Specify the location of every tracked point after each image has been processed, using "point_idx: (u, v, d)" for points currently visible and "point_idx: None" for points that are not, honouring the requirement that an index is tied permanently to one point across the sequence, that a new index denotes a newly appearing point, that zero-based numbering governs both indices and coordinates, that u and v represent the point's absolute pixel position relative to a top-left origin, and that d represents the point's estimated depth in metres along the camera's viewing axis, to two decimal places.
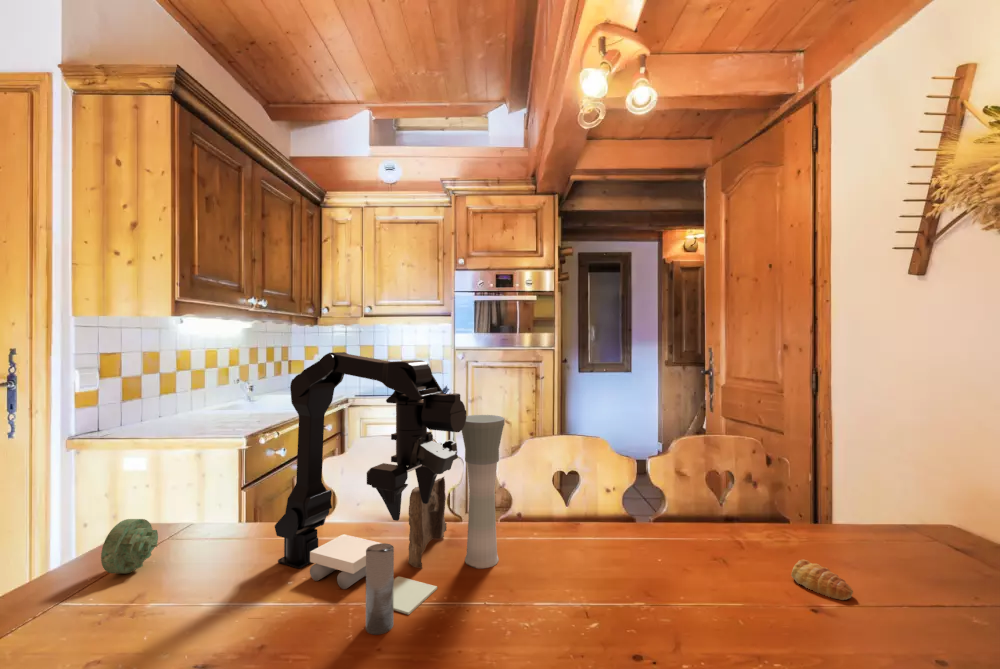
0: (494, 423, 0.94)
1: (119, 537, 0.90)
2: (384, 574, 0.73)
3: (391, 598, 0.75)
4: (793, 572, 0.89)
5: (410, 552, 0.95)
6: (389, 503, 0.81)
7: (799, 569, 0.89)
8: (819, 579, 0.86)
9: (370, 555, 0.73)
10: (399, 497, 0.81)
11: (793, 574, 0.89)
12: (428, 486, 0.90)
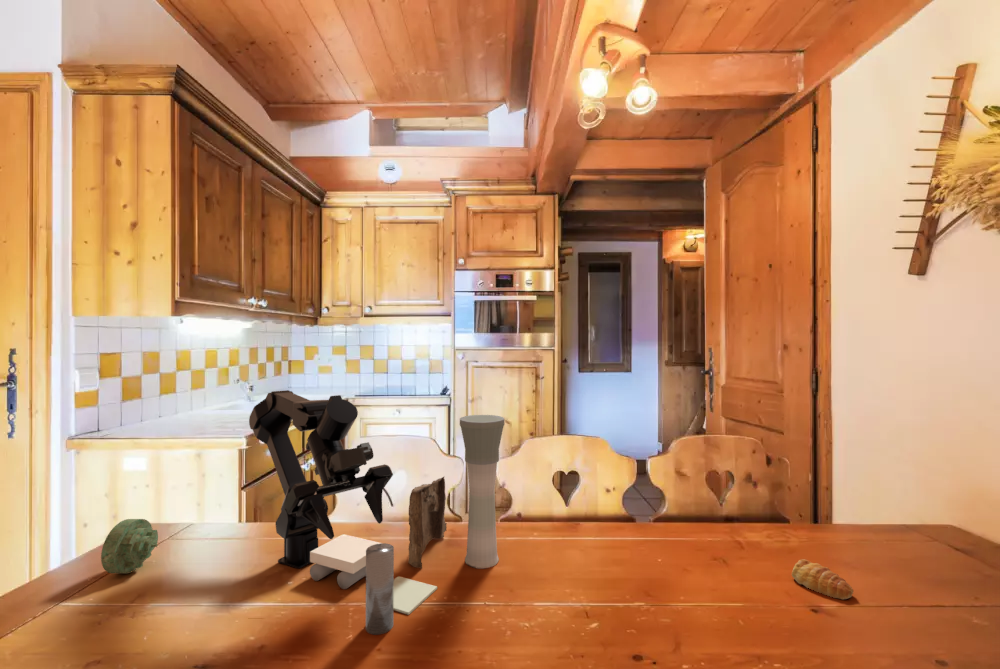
0: (494, 423, 0.94)
1: (119, 537, 0.90)
2: (384, 574, 0.73)
3: (391, 598, 0.75)
4: (793, 572, 0.89)
5: (410, 552, 0.95)
6: (318, 523, 0.79)
7: (799, 569, 0.89)
8: (819, 579, 0.86)
9: (370, 555, 0.73)
10: (321, 511, 0.79)
11: (793, 574, 0.89)
12: (375, 503, 0.86)
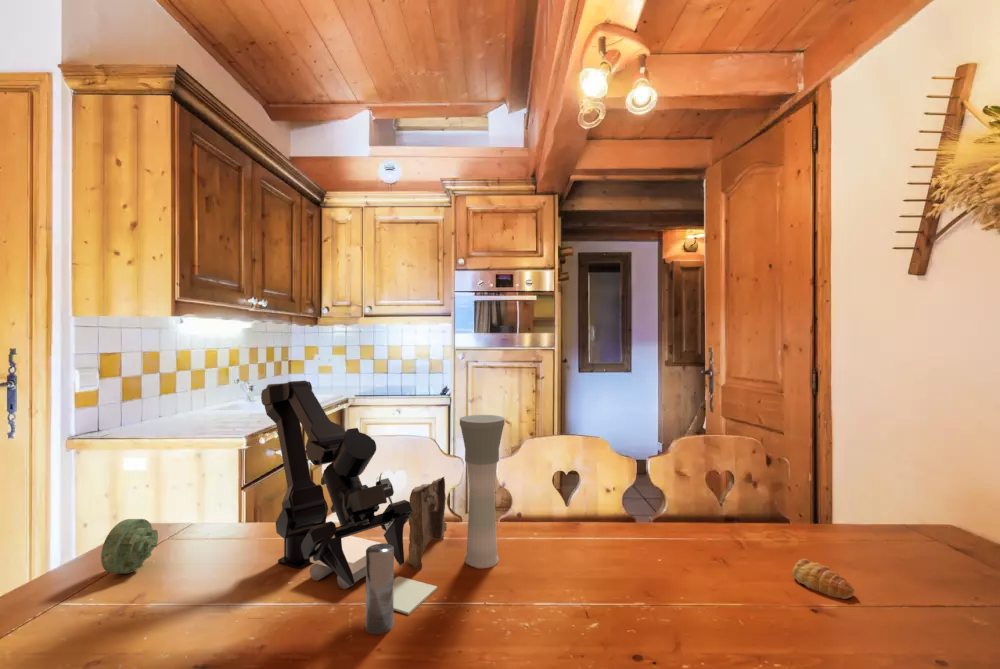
0: (494, 423, 0.94)
1: (119, 537, 0.90)
2: (384, 574, 0.73)
3: (391, 598, 0.75)
4: (794, 571, 0.90)
5: (410, 552, 0.95)
6: (337, 569, 0.74)
7: (800, 568, 0.89)
8: (820, 578, 0.86)
9: (370, 556, 0.73)
10: (340, 555, 0.73)
11: (794, 573, 0.89)
12: (396, 544, 0.80)
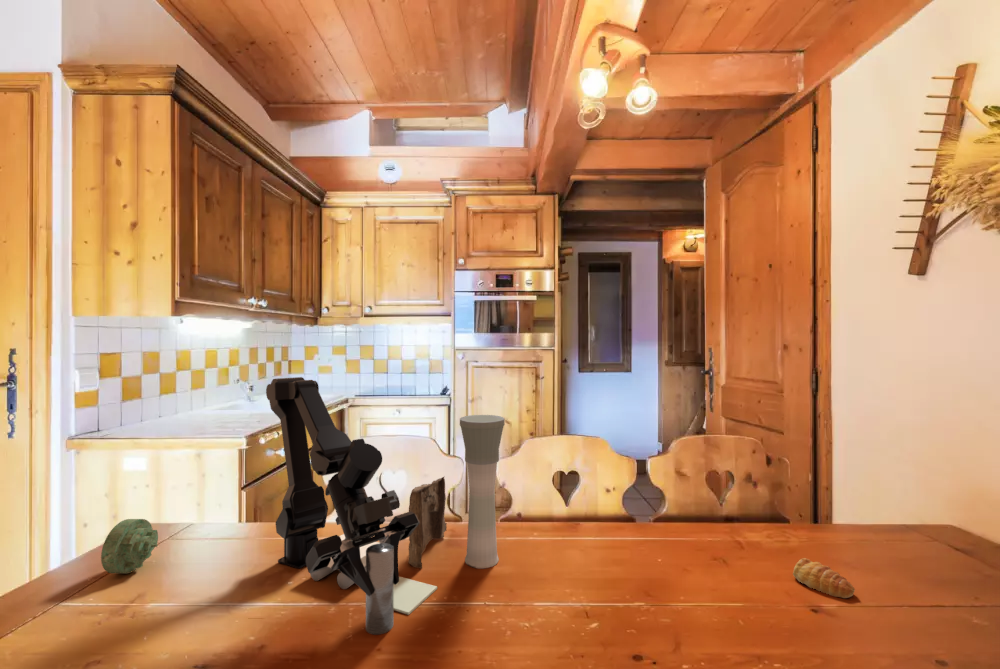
0: (494, 423, 0.94)
1: (119, 537, 0.90)
2: (384, 574, 0.73)
3: (391, 598, 0.75)
4: (795, 571, 0.90)
5: (410, 552, 0.95)
6: (356, 578, 0.74)
7: (801, 568, 0.89)
8: (821, 578, 0.86)
9: (370, 555, 0.73)
10: (359, 565, 0.74)
11: (795, 573, 0.90)
12: None
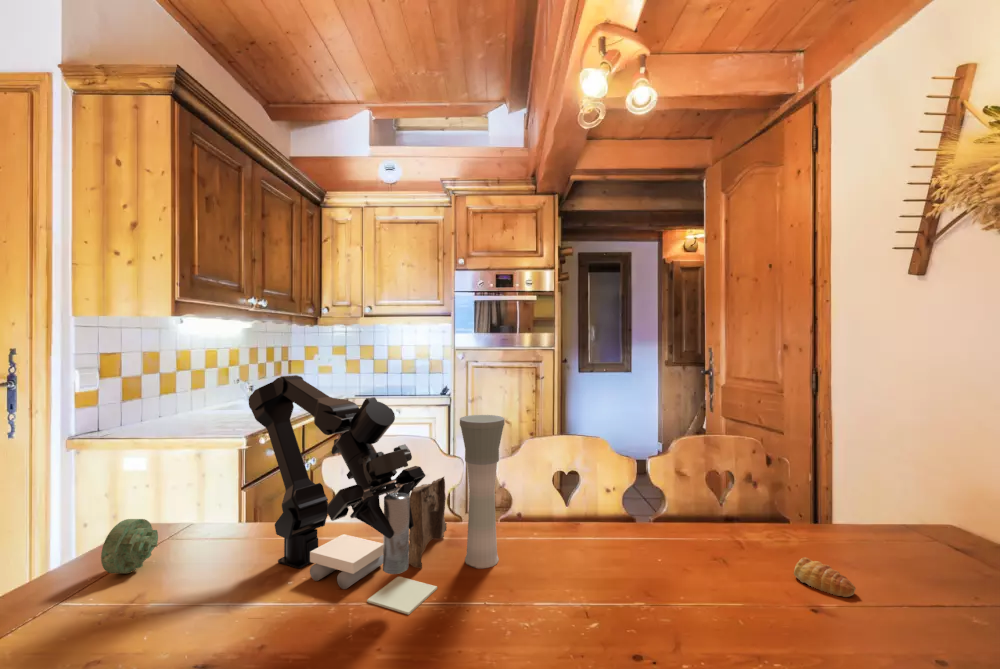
0: (494, 423, 0.94)
1: (119, 537, 0.90)
2: (403, 518, 0.80)
3: (408, 541, 0.81)
4: (796, 570, 0.90)
5: (410, 552, 0.95)
6: (375, 524, 0.79)
7: (802, 567, 0.90)
8: (822, 577, 0.86)
9: (390, 502, 0.79)
10: (379, 511, 0.79)
11: (796, 572, 0.90)
12: None
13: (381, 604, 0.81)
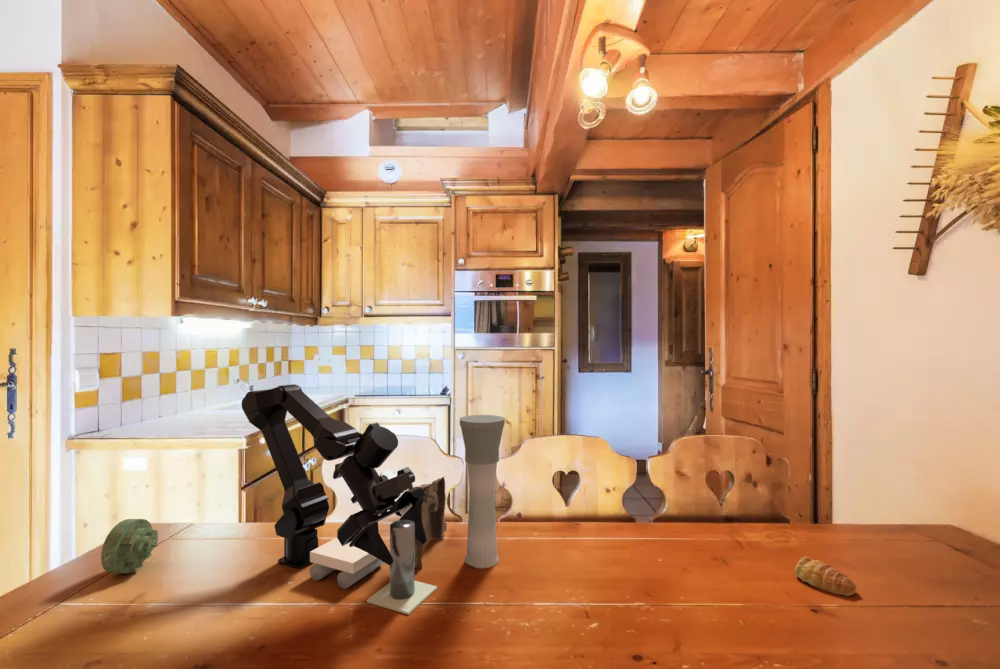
0: (494, 423, 0.94)
1: (119, 537, 0.90)
2: (409, 546, 0.83)
3: (414, 566, 0.84)
4: (797, 570, 0.90)
5: None
6: (375, 551, 0.80)
7: (803, 566, 0.90)
8: (823, 576, 0.87)
9: (397, 531, 0.82)
10: (378, 538, 0.80)
11: (797, 572, 0.90)
12: (417, 525, 0.89)
13: (381, 604, 0.81)
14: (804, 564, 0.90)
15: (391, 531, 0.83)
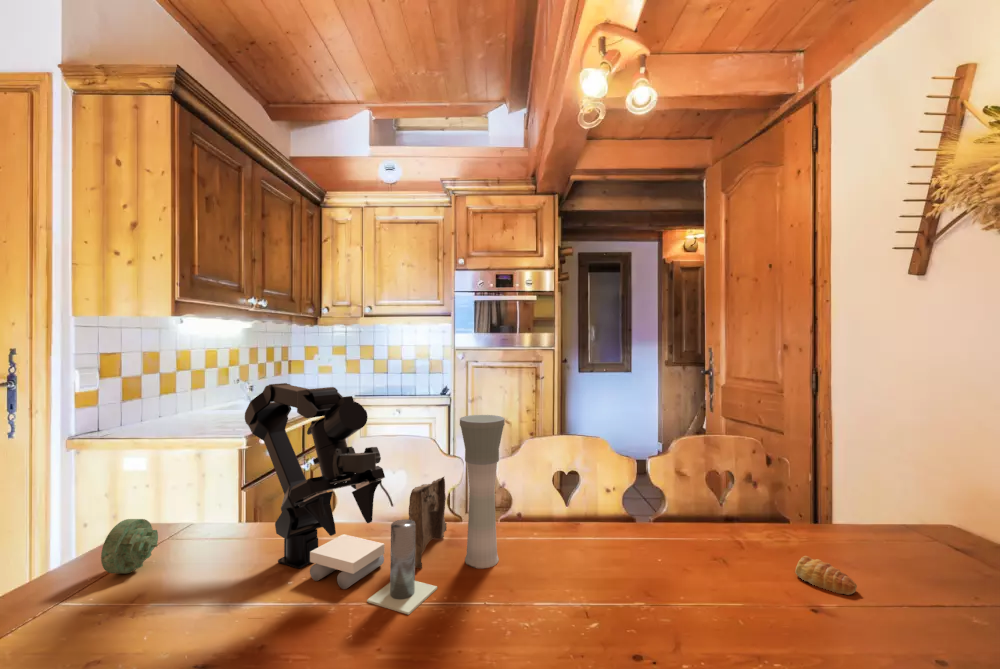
0: (494, 423, 0.94)
1: (119, 537, 0.90)
2: (410, 545, 0.83)
3: (414, 566, 0.84)
4: (797, 569, 0.91)
5: None
6: (321, 519, 0.82)
7: (803, 566, 0.90)
8: (824, 575, 0.87)
9: (398, 530, 0.82)
10: (328, 508, 0.81)
11: (797, 571, 0.90)
12: (367, 504, 0.90)
13: (381, 604, 0.81)
14: (804, 563, 0.90)
15: (392, 530, 0.83)
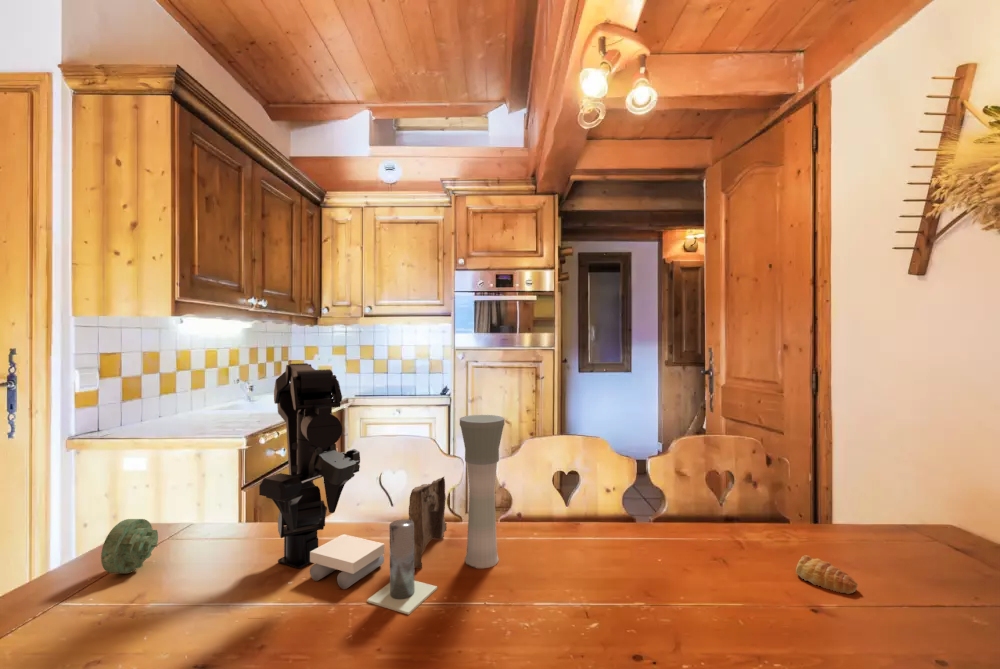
0: (494, 423, 0.94)
1: (119, 537, 0.90)
2: (409, 544, 0.83)
3: None
4: (798, 568, 0.91)
5: None
6: (285, 513, 0.81)
7: (804, 565, 0.90)
8: (825, 575, 0.87)
9: (396, 529, 0.82)
10: (294, 507, 0.80)
11: (798, 570, 0.91)
12: (334, 495, 0.90)
13: (381, 604, 0.81)
14: (805, 563, 0.91)
15: (390, 530, 0.83)
